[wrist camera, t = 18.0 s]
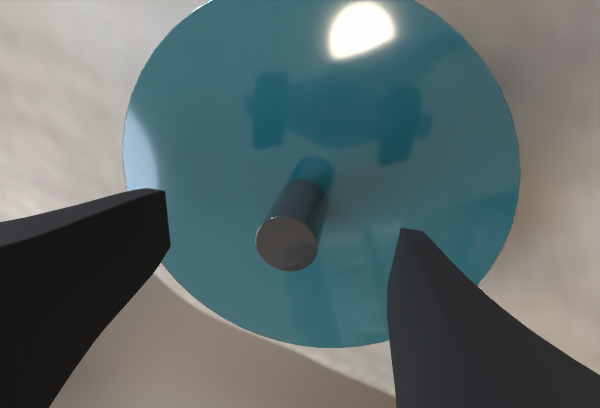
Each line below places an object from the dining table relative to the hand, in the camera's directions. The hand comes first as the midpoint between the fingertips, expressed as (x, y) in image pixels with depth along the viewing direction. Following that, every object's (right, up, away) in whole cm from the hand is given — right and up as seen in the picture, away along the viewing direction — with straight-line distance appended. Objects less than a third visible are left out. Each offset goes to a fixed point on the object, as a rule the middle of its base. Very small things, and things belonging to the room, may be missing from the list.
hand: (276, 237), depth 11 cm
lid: (+1, +1, +6) cm, 6 cm away
